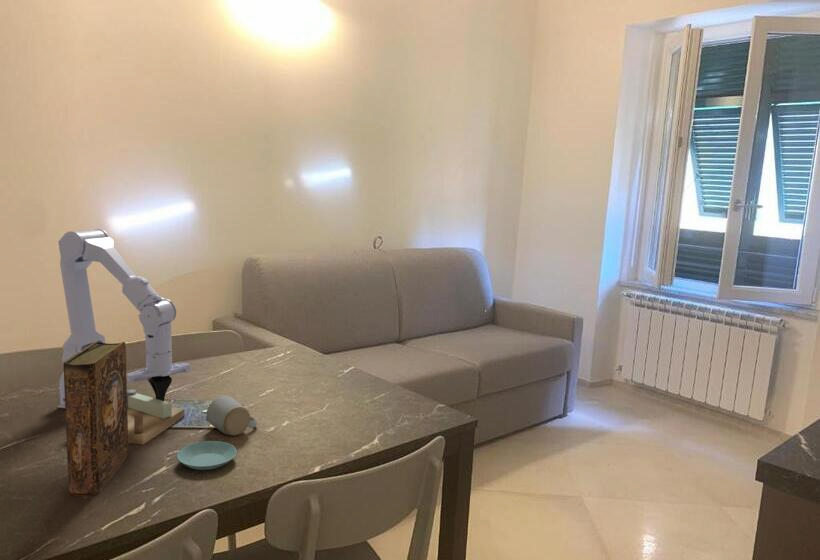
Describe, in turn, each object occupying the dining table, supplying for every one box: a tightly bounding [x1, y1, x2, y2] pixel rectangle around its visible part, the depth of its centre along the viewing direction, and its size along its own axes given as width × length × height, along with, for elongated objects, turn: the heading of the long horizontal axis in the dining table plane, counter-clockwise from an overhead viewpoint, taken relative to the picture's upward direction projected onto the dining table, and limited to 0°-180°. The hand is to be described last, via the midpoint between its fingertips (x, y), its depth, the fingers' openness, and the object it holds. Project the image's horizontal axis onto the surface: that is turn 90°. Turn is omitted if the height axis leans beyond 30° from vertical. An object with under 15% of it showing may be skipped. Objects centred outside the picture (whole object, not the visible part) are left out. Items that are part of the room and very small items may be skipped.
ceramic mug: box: [206, 395, 258, 437], centre depth 147 cm, size 11×8×8 cm
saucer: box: [176, 440, 238, 471], centre depth 131 cm, size 12×12×2 cm
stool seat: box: [127, 406, 185, 445], centre depth 147 cm, size 17×17×6 cm
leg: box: [127, 389, 173, 419], centre depth 151 cm, size 14×3×4 cm, turn 62°
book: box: [62, 341, 129, 497], centre depth 121 cm, size 16×6×25 cm, turn 5°
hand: (160, 405), depth 151 cm, fingers closed, pressing on leg
